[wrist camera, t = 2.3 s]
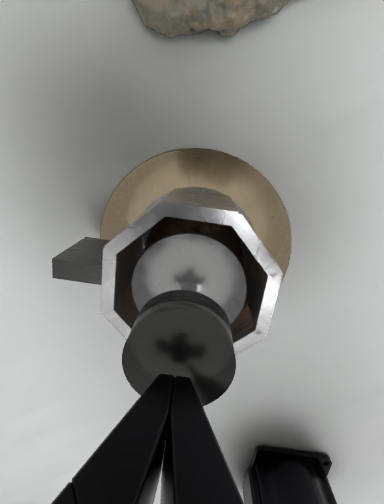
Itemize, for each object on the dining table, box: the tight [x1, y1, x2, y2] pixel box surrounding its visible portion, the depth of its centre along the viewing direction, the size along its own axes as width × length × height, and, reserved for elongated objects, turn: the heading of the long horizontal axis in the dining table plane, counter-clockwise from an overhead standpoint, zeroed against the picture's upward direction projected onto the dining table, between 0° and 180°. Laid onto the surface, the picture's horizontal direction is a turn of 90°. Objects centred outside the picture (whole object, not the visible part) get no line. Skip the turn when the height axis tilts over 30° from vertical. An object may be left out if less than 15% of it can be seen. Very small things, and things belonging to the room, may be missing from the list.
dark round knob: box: [122, 232, 247, 406], centre depth 11 cm, size 5×5×6 cm
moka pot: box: [52, 148, 291, 355], centre depth 16 cm, size 13×13×7 cm
